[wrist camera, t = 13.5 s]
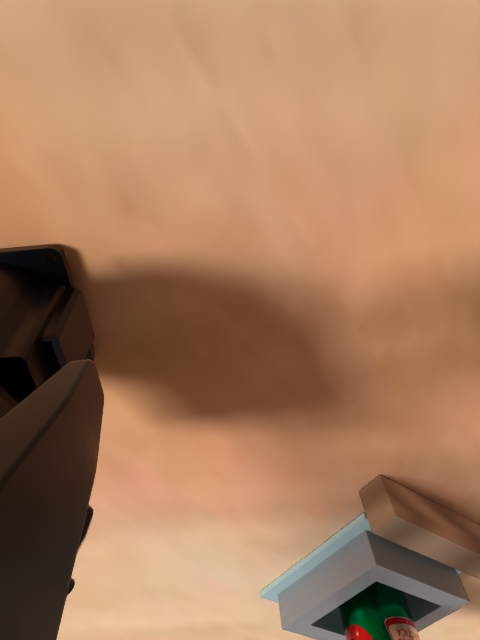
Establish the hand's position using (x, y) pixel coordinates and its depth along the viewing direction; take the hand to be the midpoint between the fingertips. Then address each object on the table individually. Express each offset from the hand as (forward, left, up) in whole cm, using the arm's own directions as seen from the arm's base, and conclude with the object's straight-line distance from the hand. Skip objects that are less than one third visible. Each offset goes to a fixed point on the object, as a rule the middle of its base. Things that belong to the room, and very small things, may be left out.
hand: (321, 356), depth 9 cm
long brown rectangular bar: (+12, -26, -12) cm, 31 cm away
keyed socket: (+7, -32, -12) cm, 35 cm away
